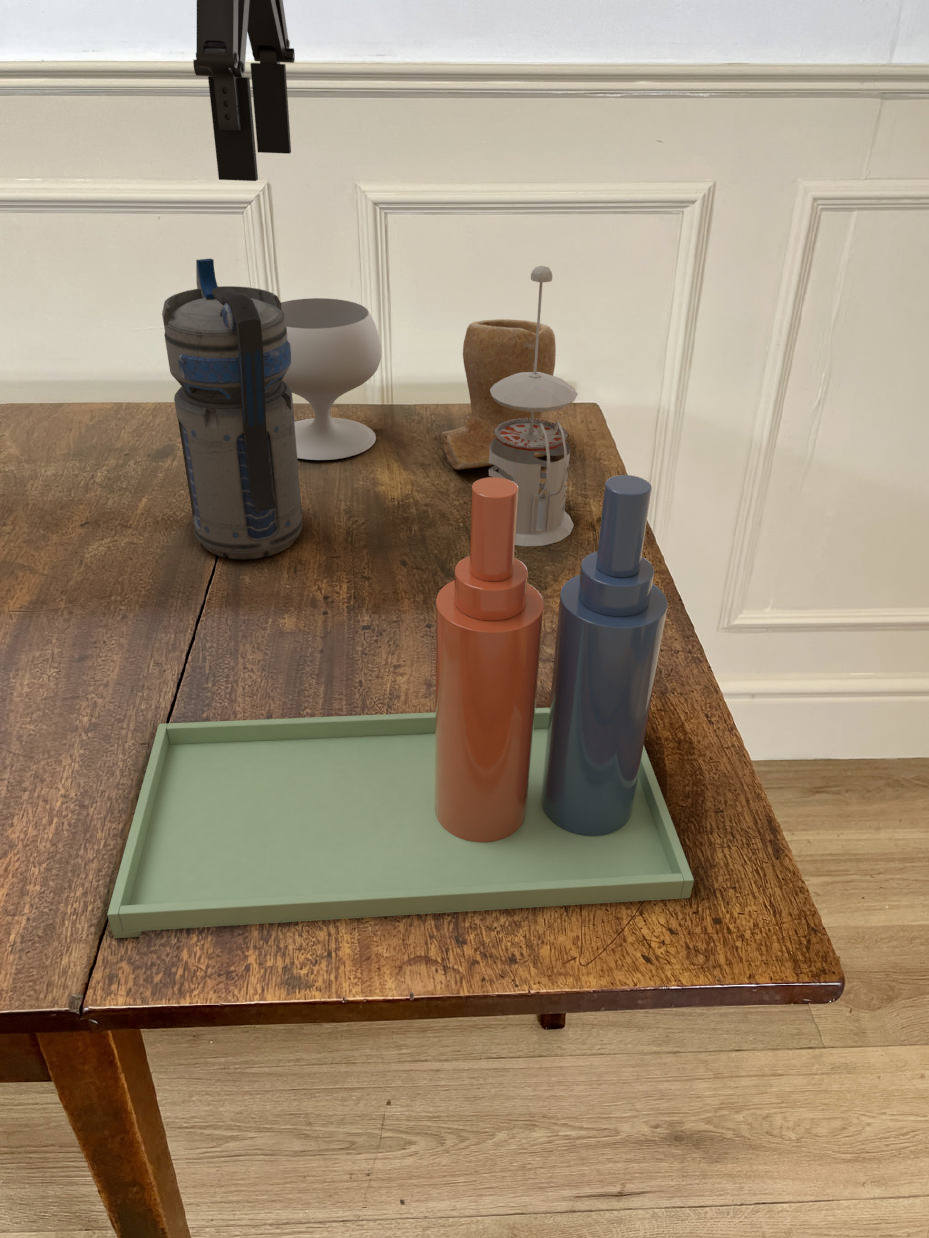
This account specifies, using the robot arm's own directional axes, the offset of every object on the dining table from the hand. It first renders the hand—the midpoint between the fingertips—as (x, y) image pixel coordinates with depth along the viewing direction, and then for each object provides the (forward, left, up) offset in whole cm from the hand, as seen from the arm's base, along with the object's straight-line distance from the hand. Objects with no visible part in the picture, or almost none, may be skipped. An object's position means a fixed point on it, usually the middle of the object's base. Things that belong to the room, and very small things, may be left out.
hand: (257, 165), depth 74 cm
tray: (+10, -39, -33) cm, 52 cm away
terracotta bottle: (+15, -39, -32) cm, 53 cm away
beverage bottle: (-3, -2, -33) cm, 33 cm away
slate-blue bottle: (+22, -39, -32) cm, 55 cm away
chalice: (+3, +22, -33) cm, 40 cm away
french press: (+24, 0, -33) cm, 40 cm away
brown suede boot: (+23, +18, -33) cm, 44 cm away
